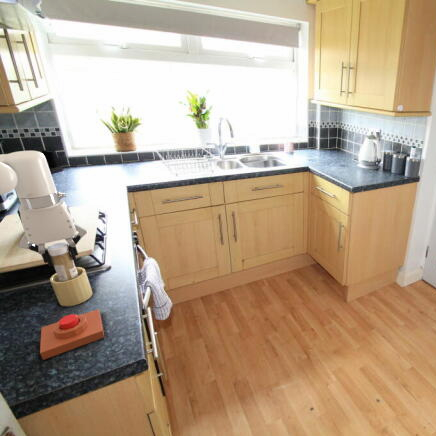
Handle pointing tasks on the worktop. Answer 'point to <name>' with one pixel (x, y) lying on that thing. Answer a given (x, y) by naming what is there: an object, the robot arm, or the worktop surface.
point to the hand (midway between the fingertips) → (62, 260)
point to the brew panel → (71, 335)
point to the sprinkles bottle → (63, 261)
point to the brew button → (68, 322)
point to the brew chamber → (72, 289)
